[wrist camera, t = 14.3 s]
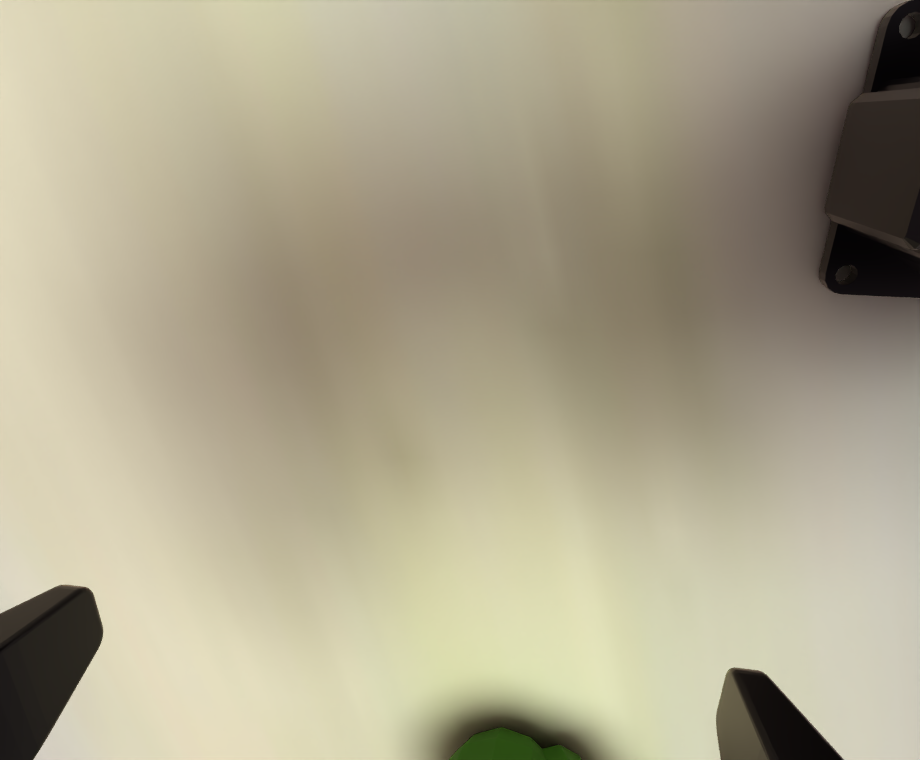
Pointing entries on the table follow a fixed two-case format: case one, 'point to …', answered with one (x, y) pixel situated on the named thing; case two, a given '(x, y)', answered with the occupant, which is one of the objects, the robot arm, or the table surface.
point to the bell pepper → (509, 748)
